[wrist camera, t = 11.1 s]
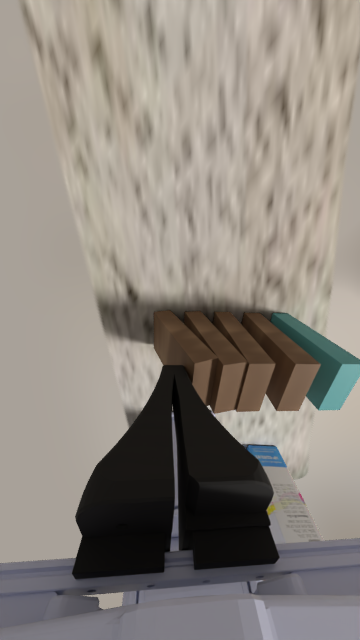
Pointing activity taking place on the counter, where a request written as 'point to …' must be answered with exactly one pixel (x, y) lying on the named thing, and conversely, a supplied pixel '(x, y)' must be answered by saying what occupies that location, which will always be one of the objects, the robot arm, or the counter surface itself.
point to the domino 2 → (220, 362)
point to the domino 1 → (185, 352)
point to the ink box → (285, 501)
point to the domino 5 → (322, 363)
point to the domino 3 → (257, 360)
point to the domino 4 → (283, 363)
